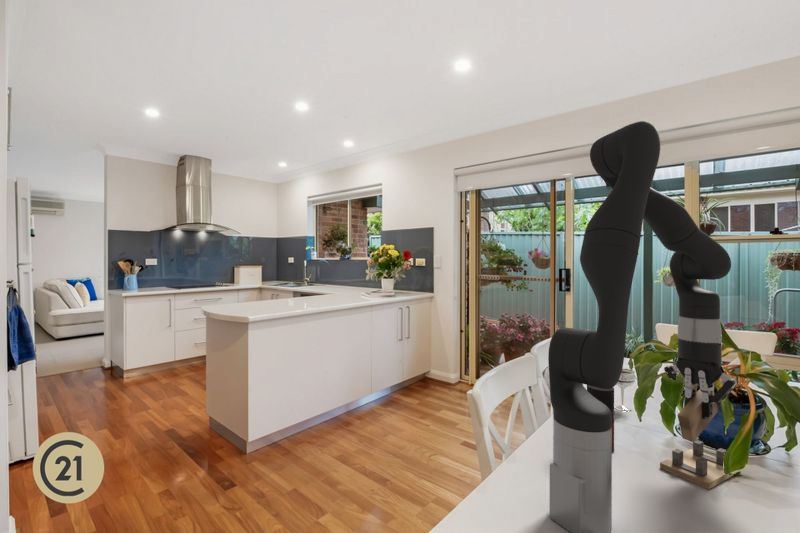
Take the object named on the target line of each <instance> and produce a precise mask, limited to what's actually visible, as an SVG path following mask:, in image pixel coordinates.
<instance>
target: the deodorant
mask: <svg viewBox="0 0 800 533" xmlns="http://www.w3.org/2000/svg"><path fill="white" fill-rule="evenodd" d="M586 390H587V391H588V392H589V393H590V394H591V395H592V396H593V397H595V398H596V399H597V400H599V401H600V402H602V403H603V404H605V405H606V406H607V407H608V408H609V409H610V411H611V414H612V454H613V453H615V408H614V406H615V388H614V387H613V388H610V389H603V388H598V387H594V386H590V385H586Z"/></svg>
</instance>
